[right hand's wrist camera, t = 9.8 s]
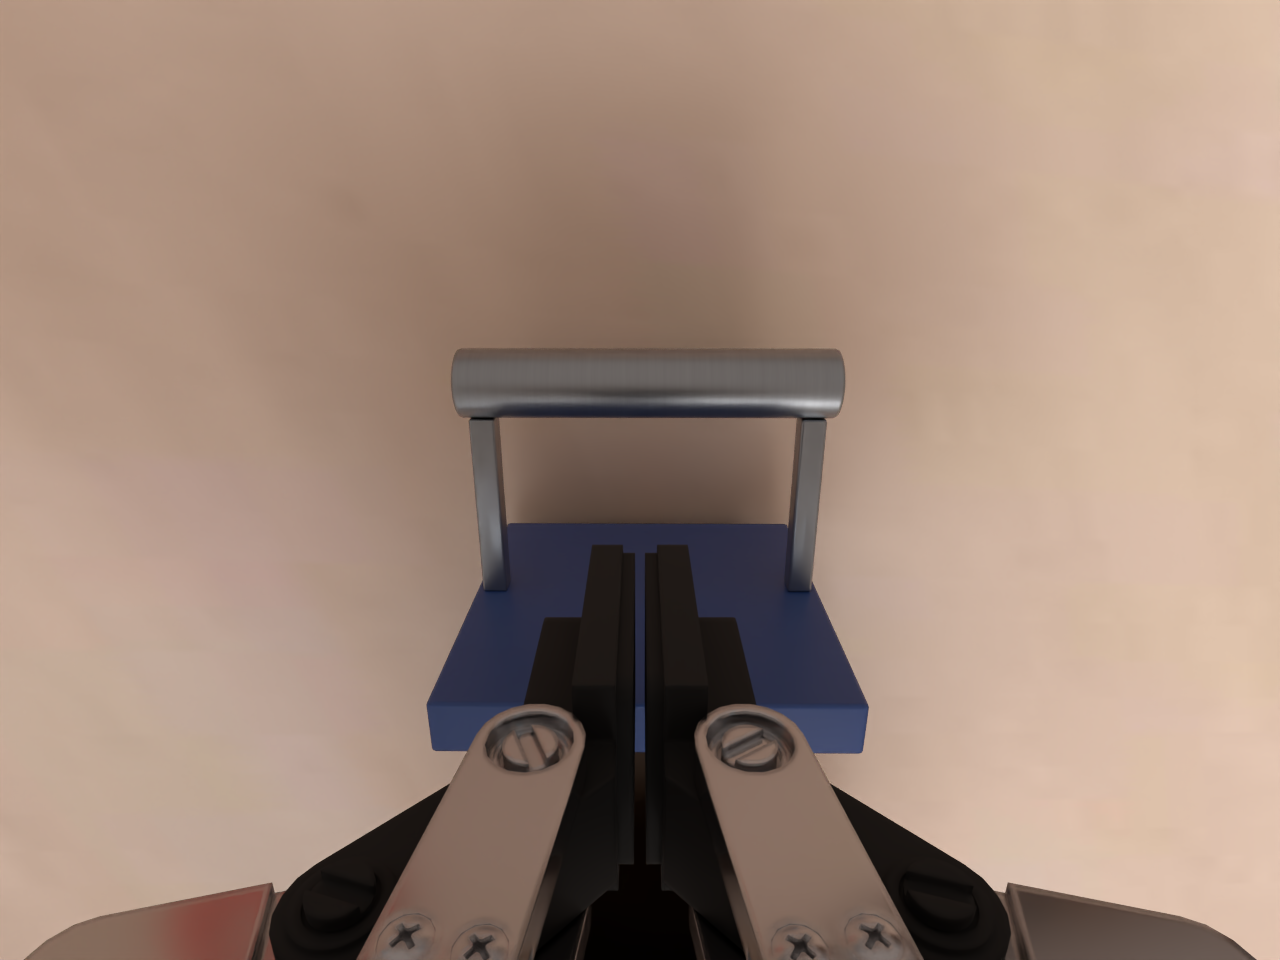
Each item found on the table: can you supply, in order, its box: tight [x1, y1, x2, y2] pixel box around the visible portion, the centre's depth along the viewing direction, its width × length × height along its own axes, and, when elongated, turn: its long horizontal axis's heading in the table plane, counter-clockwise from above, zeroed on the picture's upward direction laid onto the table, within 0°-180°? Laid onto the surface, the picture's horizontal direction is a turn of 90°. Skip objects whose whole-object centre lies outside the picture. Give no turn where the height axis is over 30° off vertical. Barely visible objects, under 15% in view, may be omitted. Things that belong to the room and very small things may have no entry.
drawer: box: [427, 349, 869, 960], centre depth 20 cm, size 26×9×9 cm, turn 0°
